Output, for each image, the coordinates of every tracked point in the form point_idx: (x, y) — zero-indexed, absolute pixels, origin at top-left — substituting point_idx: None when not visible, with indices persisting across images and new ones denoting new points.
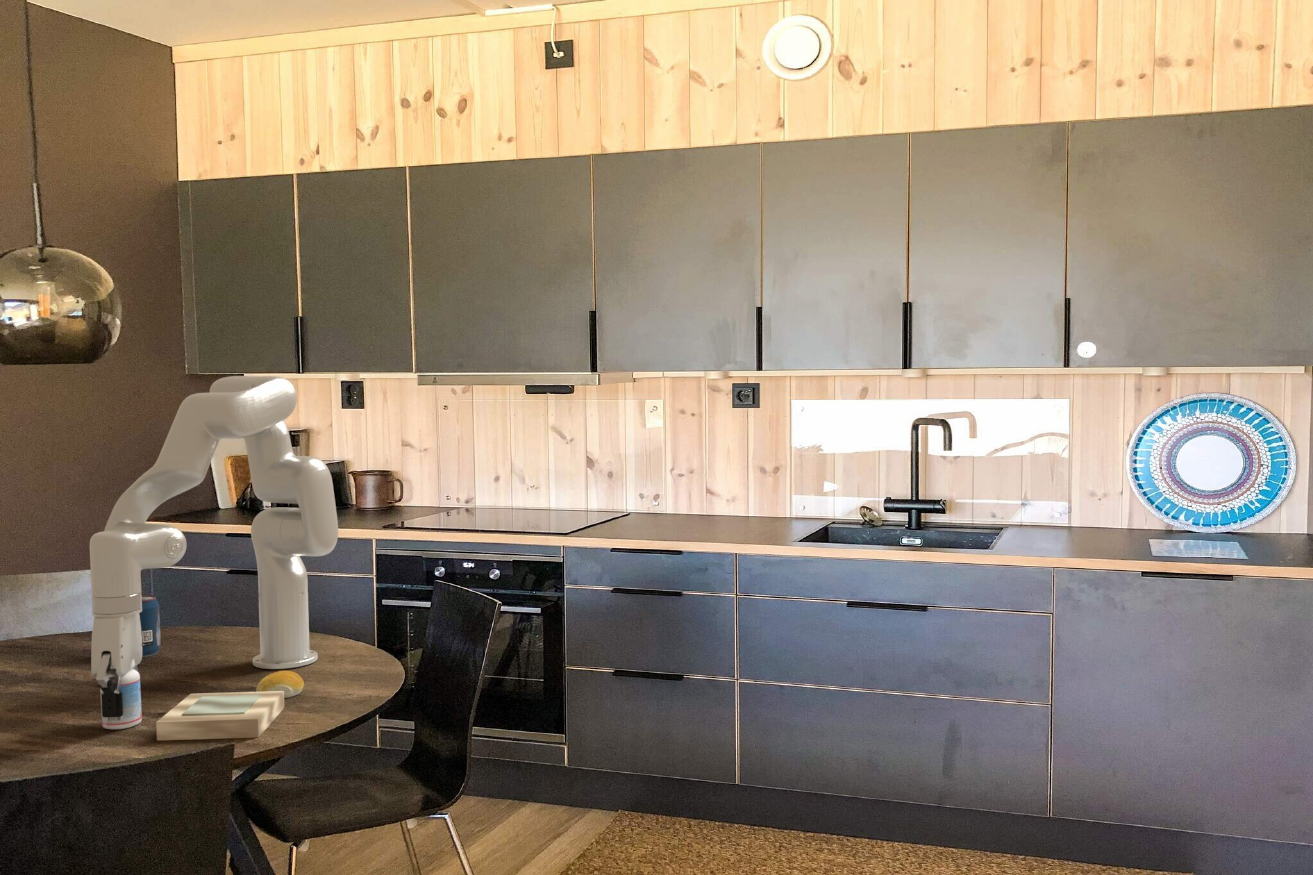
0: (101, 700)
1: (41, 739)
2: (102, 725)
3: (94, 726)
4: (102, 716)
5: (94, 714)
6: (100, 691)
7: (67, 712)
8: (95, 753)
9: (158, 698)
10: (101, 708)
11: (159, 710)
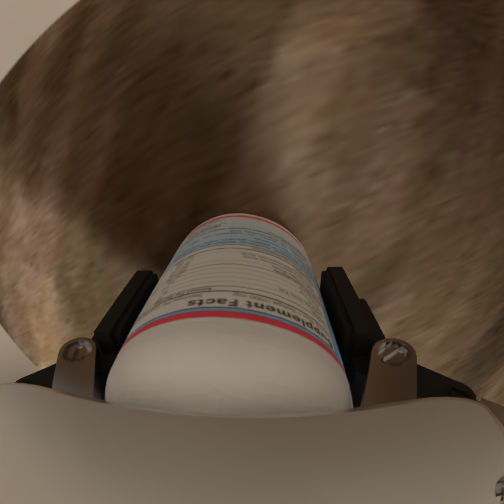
0: (163, 278)
1: (89, 67)
2: (199, 225)
3: (229, 177)
4: (183, 244)
5: (392, 113)
6: (62, 349)
7: (416, 14)
8: (24, 294)
9: (497, 268)
10: (181, 253)
11: (388, 322)
